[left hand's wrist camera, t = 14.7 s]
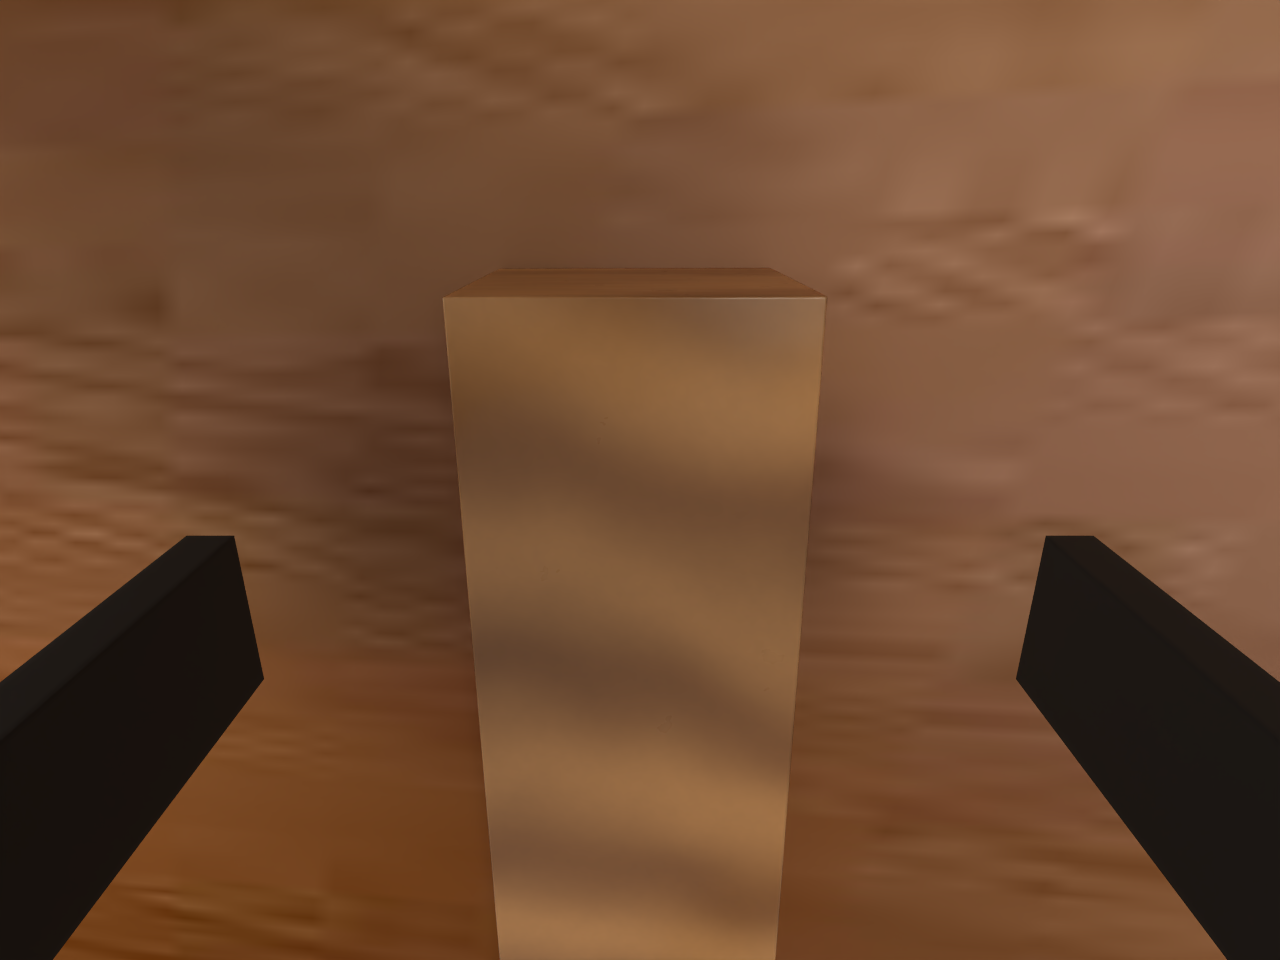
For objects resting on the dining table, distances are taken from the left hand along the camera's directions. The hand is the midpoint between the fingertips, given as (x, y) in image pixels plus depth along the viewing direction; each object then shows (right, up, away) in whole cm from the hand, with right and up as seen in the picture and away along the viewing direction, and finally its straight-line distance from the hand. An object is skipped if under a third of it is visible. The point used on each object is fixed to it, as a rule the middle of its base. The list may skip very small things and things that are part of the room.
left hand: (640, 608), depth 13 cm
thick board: (0, -30, +25) cm, 39 cm away
